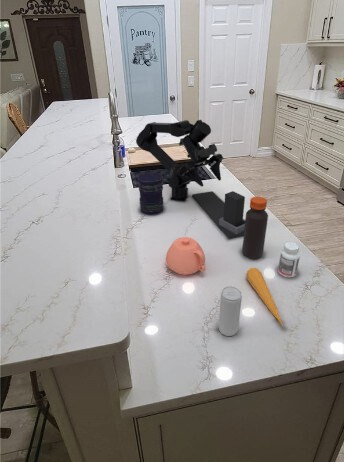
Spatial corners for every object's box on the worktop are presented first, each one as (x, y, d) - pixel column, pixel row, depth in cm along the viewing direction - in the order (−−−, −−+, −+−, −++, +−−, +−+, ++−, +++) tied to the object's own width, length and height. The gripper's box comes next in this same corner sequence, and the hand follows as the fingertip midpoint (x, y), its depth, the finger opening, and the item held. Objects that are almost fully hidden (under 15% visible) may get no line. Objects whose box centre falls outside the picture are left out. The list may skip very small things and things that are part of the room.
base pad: (191, 196, 148) (192, 189, 147) (212, 193, 151) (212, 186, 149) (228, 239, 117) (229, 230, 115) (253, 234, 120) (254, 225, 118)
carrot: (246, 278, 99) (242, 269, 97) (260, 272, 99) (256, 262, 96) (276, 335, 83) (273, 325, 80) (293, 328, 83) (290, 318, 80)
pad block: (234, 231, 120) (237, 199, 113) (222, 224, 124) (224, 193, 118) (242, 228, 122) (245, 196, 116) (230, 221, 126) (232, 191, 120)
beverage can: (216, 322, 83) (219, 286, 78) (235, 321, 84) (239, 285, 78) (220, 338, 79) (223, 301, 74) (240, 336, 80) (244, 299, 74)
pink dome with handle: (184, 250, 112) (184, 224, 107) (217, 268, 103) (218, 241, 98) (158, 266, 104) (156, 239, 99) (190, 287, 95) (190, 259, 90)
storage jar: (136, 213, 135) (133, 179, 128) (146, 202, 143) (144, 170, 136) (157, 217, 132) (156, 183, 125) (167, 206, 140) (166, 174, 133)
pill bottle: (287, 264, 104) (292, 239, 99) (300, 274, 99) (305, 248, 95) (274, 269, 102) (278, 243, 97) (286, 280, 97) (291, 253, 93)
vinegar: (264, 250, 111) (272, 197, 101) (260, 261, 105) (267, 206, 96) (244, 245, 113) (250, 193, 104) (239, 256, 108) (245, 202, 98)
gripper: (184, 142, 118) (203, 180, 116) (221, 133, 128) (240, 168, 126) (171, 157, 128) (189, 192, 125) (207, 148, 138) (224, 180, 135)
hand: (211, 183), depth 127 cm, fingers open, 9 cm apart
